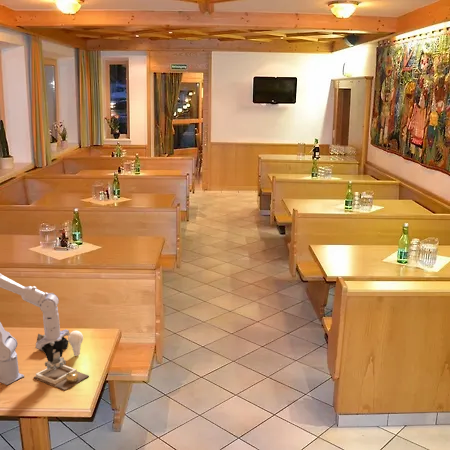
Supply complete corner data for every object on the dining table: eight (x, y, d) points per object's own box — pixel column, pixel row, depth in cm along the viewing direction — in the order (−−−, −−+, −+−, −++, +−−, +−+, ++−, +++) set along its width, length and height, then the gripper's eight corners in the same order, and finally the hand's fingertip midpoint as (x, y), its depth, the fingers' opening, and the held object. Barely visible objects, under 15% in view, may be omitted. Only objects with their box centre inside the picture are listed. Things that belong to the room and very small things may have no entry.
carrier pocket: (35, 376, 220) (35, 374, 220) (57, 365, 229) (57, 362, 229) (54, 384, 215) (54, 381, 214) (76, 372, 223) (76, 369, 223)
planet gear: (41, 366, 220) (39, 353, 219) (56, 358, 226) (55, 345, 225) (54, 371, 216) (53, 358, 214) (70, 363, 222) (68, 350, 221)
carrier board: (33, 378, 220) (33, 377, 220) (58, 365, 230) (58, 364, 230) (64, 390, 211) (64, 389, 211) (89, 376, 221) (88, 375, 221)
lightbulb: (69, 360, 235) (67, 335, 232) (69, 353, 240) (67, 329, 238) (84, 357, 236) (82, 333, 233) (84, 351, 242) (82, 327, 239)
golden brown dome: (64, 381, 216) (63, 375, 216) (72, 376, 220) (72, 370, 219) (72, 384, 214) (71, 378, 214) (80, 379, 218) (80, 373, 217)
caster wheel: (70, 351, 248) (56, 357, 239) (49, 342, 252) (34, 348, 243) (73, 336, 247) (59, 343, 238) (52, 327, 251) (37, 333, 241)
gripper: (43, 335, 209) (46, 369, 212) (73, 321, 221) (76, 353, 224) (30, 331, 213) (34, 364, 216) (61, 317, 224) (64, 349, 228)
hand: (54, 358), depth 220 cm, fingers closed on planet gear, 4 cm apart
